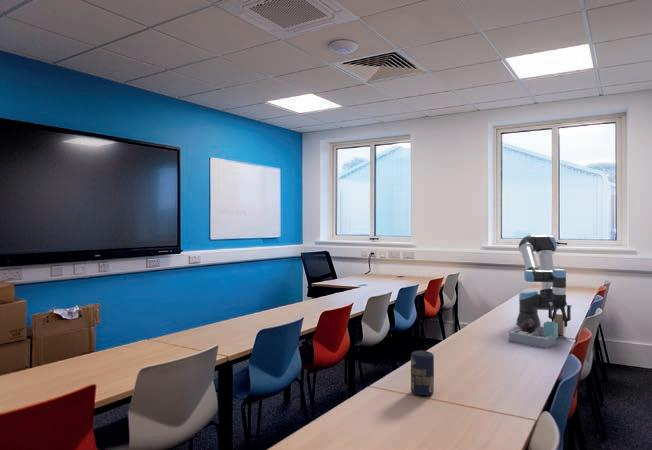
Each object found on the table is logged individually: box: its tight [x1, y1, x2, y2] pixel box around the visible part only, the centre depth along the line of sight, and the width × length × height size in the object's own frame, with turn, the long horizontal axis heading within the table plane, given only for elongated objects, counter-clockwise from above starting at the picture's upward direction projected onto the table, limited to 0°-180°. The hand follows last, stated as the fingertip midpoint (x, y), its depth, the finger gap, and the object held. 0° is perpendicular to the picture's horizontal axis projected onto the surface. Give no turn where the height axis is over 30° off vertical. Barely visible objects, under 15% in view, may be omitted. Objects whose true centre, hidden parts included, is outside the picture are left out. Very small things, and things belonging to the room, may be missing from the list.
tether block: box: [543, 313, 565, 339], centre depth 280 cm, size 19×6×12 cm, turn 133°
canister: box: [410, 350, 435, 396], centre depth 190 cm, size 10×10×18 cm
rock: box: [519, 319, 537, 334], centre depth 290 cm, size 12×9×10 cm
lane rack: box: [508, 328, 557, 349], centre depth 269 cm, size 14×22×5 cm, turn 43°
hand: (559, 330), depth 285 cm, fingers closed on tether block, 5 cm apart
